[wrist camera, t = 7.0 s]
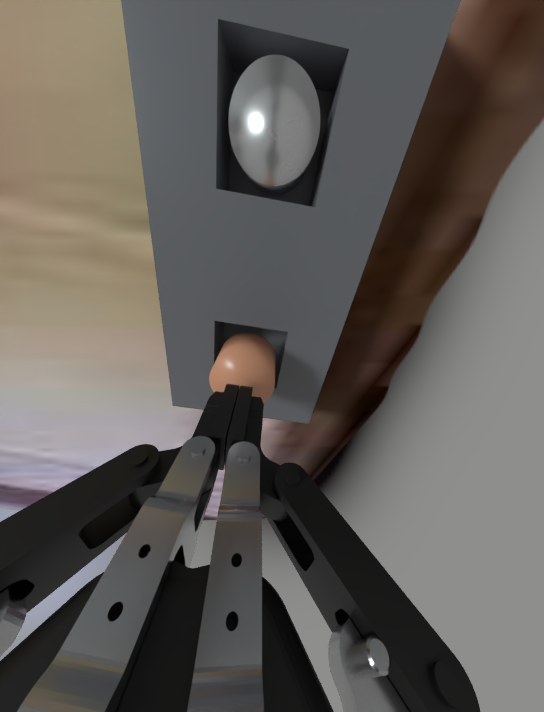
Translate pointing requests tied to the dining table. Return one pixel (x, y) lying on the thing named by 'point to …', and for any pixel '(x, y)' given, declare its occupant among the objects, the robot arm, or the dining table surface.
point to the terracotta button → (245, 365)
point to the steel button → (274, 123)
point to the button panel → (254, 207)
